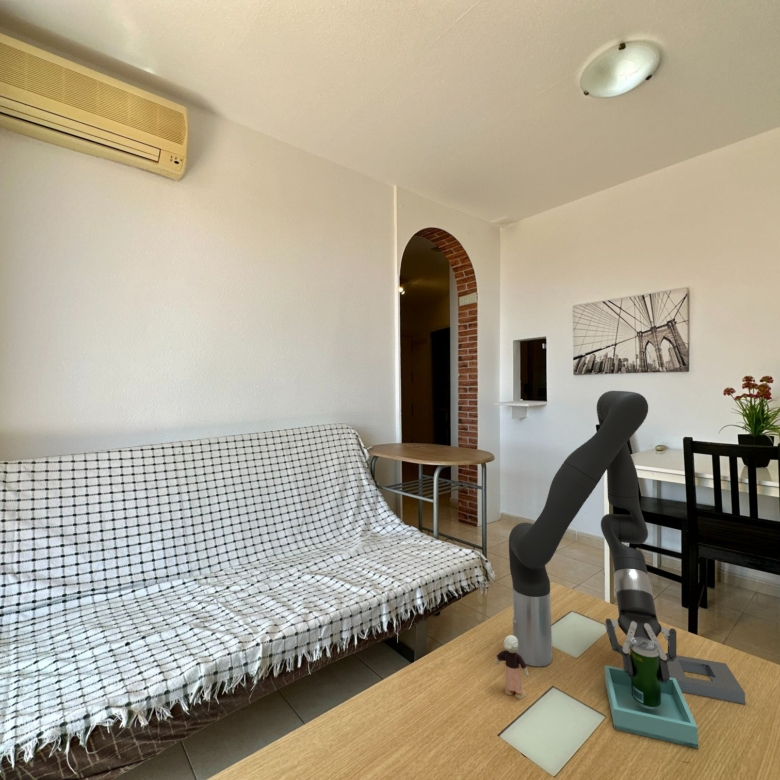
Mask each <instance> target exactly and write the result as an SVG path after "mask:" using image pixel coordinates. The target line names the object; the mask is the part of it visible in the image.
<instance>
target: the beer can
mask: <svg viewBox="0 0 780 780" xmlns="http://www.w3.org/2000/svg"><path fill="white" fill-rule="evenodd" d="M629 655H630V656H631V663H632V670H633V677H631V693H632V696H633V699H634V700H635V702H636V703H637V704H639V705H640V706H642V707H644V708H647V709H652V710H654V709H657V708H659V706H660V705H661V678H660V652H659V650H658V646H657V644H656V643H654V642H653V641H651V640H649V639H646V638H642V637H635V638H632V639H631V643H630V650H629Z"/></svg>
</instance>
